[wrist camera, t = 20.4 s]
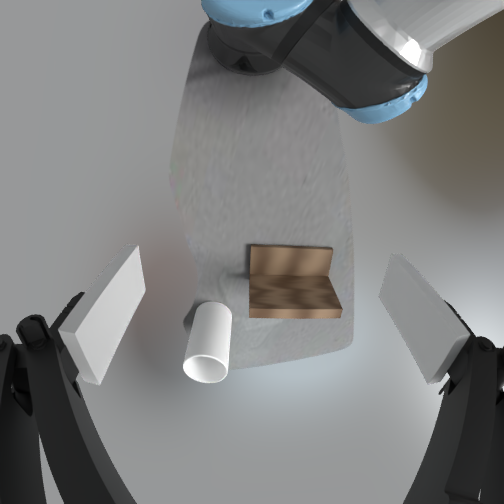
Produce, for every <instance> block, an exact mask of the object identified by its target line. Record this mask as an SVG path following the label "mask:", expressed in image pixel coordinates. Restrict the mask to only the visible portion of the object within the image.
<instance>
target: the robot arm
mask: <svg viewBox="0 0 504 504" xmlns="http://www.w3.org/2000/svg"><path fill="white" fill-rule="evenodd" d="M201 1H202V7H203V10H204V11H205V12H206V14H207V15H208V17H209V20H210V22H211V23H210V25H209V28H208V36H207V37H208V44H209V47H210V50H211V51H212V53H213V55H214V57H215V58H216V59H217V60H218V62H219V63H221V64H222V65H223V66H224V67H226V68H228V69H229V70H231V71H234V72H236V73H240V74H244V75H264V74H268V73H272V72H274V71H276V70H278V69H280V68H282V67H284V68H285V69H287V70H288V71H290V72H291V73H293V74H294V75H296V76H297V77H299V78H300V79H302V80H303V81H305V82H306V83H307V84H309V85H310V86H311V87H313V88H314V89H316V90H317V91H318V92H320V93H321V94H322V95H324V96H325V97H326V98H327V99H329V100H330V101H331V103H332V104H333V105H334V106H335V107H337V108H339V109H341V110H343V111H345V112H346V113H347V114H349V115H350V116H351V117H352V118H354V119H355V120H357V121H359V122H362V123H366V124H375V123H381V122H384V121H387V120H390V119H392V118H394V117H396V116H398V115H400V114H402V113H403V112H405V111H406V110H408V109H409V108H410V107H411V103H413V102H415V101H418V100H419V99H420V98H421V96H422V95H423V94H424V92H425V90H426V87H427V81H428V80H427V76H426V74H427V73H428V72H430V71H431V70H432V66H433V64H432V62H433V52H434V51H435V50H436V49H438V48H439V47H441V46H442V45H444V44H445V43H447V42H449V41H450V40H452V39H453V38H455V37H456V36H458V35H460V34H461V33H463V32H465V31H466V30H468V29H470V28H471V27H473V26H475V25H476V24H478V23H480V22H481V21H483V20H485V19H487V18H488V17H490V16H492V15H494V14H496V13H497V12H499V11H501V10H503V9H504V0H342V1H341V0H201ZM145 291H146V289H145V284H144V278H143V273H142V267H141V261H140V254H139V247H138V245H124V246H123V248H122V249H121V250H120V251H119V252H118V253H117V255H116V256H115V257H114V258H113V259H112V260H111V262H110V263H109V264H108V265H107V266H106V268H105V269H104V270H103V271H102V273H101V274H100V275H99V276H98V278H97V279H96V280H95V281H94V282H93V284H92V285H91V286H90V287H89V289H88V290H87V291H86V292H80V293H79V294H78V295H76V296H75V297H73V298H72V299H71V301H70V302H69V303H68V304H67V307H65V308H64V310H63V311H62V313H60V315H59V316H58V317H57V319H56V320H55V321H54V323H53V324H52V326H51V327H50V328H48V325H47V324H46V321H45V319H44V317H43V316H41V315H36V314H35V315H30V316H28V317H26V318H24V319H23V320H22V321H20V323H19V324H18V325H17V328H16V332H17V334H18V336H19V338H20V340H21V342H22V344H14V342H13V340H12V339H11V337H10V336H9V335H7V334H2V335H0V504H47V503H46V497H45V492H44V485H43V479H42V471H41V461H40V448H39V434H40V438H41V441H42V445H43V448H44V452H45V455H46V458H47V461H48V464H49V467H50V470H51V472H52V475H53V477H54V480H55V483H56V485H57V487H58V490H59V493H60V495H61V497H62V499H63V502H64V504H137V503H136V502H135V500H134V499H133V497H132V496H131V494H130V492H129V491H128V489H127V488H126V486H125V484H124V483H123V481H122V479H121V477H120V476H119V474H118V472H117V470H116V469H115V467H114V465H113V463H112V461H111V459H110V457H109V455H108V453H107V451H106V449H105V447H104V445H103V443H102V441H101V439H100V437H99V435H98V433H97V430H96V428H95V426H94V423H93V421H92V419H91V416H90V414H89V411H88V409H87V406H86V404H85V401H84V398H83V395H82V393H81V390H80V387H79V384H78V382H77V381H76V377H77V375H78V373H80V375H81V376H82V378H83V380H84V381H85V382H89V383H93V384H97V385H100V384H101V382H102V379H103V377H104V375H105V373H106V370H107V368H108V366H109V364H110V361H111V360H112V357H113V355H114V353H115V351H116V349H117V346H118V345H119V342H120V340H121V338H122V336H123V334H124V332H125V330H126V328H127V326H128V324H129V322H130V320H131V318H132V316H133V314H134V312H135V310H136V308H137V306H138V304H139V303H140V301H141V299H142V297H143V295H144V293H145ZM379 298H380V300H381V301H382V303H383V305H384V306H385V308H386V310H387V311H388V313H389V315H390V316H391V318H392V320H393V321H394V323H395V325H396V327H397V328H398V330H399V332H400V333H401V335H402V337H403V339H404V340H405V342H406V344H407V346H408V348H409V350H410V351H411V353H412V355H413V357H414V359H415V361H416V363H417V365H418V366H419V368H420V370H421V372H422V374H423V376H424V378H425V380H426V382H427V384H428V385H429V384H433V383H436V382H440V381H441V380H442V379H443V377H444V376H445V374H446V373H447V372H448V374H449V376H450V378H449V380H448V381H447V382H446V384H445V385H444V386H443V388H442V389H441V390H440V392H439V395H440V394H441V393H442V392H443V391H444V395H443V400H442V403H441V407H440V411H439V414H438V418H437V421H436V424H435V428H434V431H433V434H432V437H431V439H430V443H429V445H428V448H427V451H426V453H425V456H424V459H423V461H422V463H421V466H420V468H419V471H418V473H417V475H416V477H415V480H414V482H413V484H412V486H411V488H410V491H409V492H408V494H407V496H406V498H405V500H404V503H403V504H504V392H503V388H502V387H503V386H504V347H503V348H496V347H495V345H494V344H493V343H492V342H491V341H490V340H489V339H487V338H485V337H482V336H480V337H476V336H475V335H474V333H473V332H472V331H471V329H470V328H469V327H468V325H467V324H466V323H465V322H464V320H462V319H461V317H460V316H459V314H457V312H456V311H455V309H454V308H453V307H452V306H451V305H450V304H449V303H447V302H446V301H445V300H443V299H442V298H441V297H440V295H439V294H438V293H437V292H436V291H435V290H434V288H433V287H432V286H431V285H430V284H429V283H428V282H427V280H426V279H425V278H424V277H423V276H422V275H421V274H420V273H419V271H418V270H416V268H415V267H414V266H413V265H412V264H411V263H410V262H409V261H408V260H407V259H406V257H405V256H403V255H402V254H391V257H390V260H389V264H388V267H387V271H386V275H385V278H384V282H383V284H382V288H381V291H380V294H379ZM11 386H12V388H11ZM480 489H481V493H480ZM479 493H480V501H479V499H478V497H479Z"/></svg>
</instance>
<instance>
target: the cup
mask: <svg viewBox="0 0 504 504" xmlns="http://www.w3.org/2000/svg"><path fill="white" fill-rule="evenodd" d="M231 322H232V314H231V312H230V310H229V309H228V307H226V306H225V305H224V304H222V303H219V302H214V301H210V302H205V303H203V304H201V305H200V306H199V307H198V308H197V310H196V313H195V317H194V321H193V325H192V329H191V333H190V337H189V342H188V346H187V350H186V355H185V359H184V363H183V369H184V371H185V373H186V374H187V375H188V376H189V377H190V378H192V379H194V380H196V381H199V382H204V383H214V382H219V381H221V380H223V379H224V378H225V377H226V375H227V372H228V361H229V347H230V334H231Z"/></svg>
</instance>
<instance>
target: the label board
mask: <svg viewBox="0 0 504 504" xmlns="http://www.w3.org/2000/svg"><path fill="white" fill-rule="evenodd" d="M332 254H333V249H332V248H328V247H305V246H281V245H257V244H251V257H250V277H249V318H297V319H306V318H340V317H341V313H342V310H343V309H342V307H341V304H340V302H339V300H338V297H337V295H336V293H335V291H334V288H333V286H332V284H331V282H330V279H329V277H328V275H329V270H330V265H331V260H332Z"/></svg>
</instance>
